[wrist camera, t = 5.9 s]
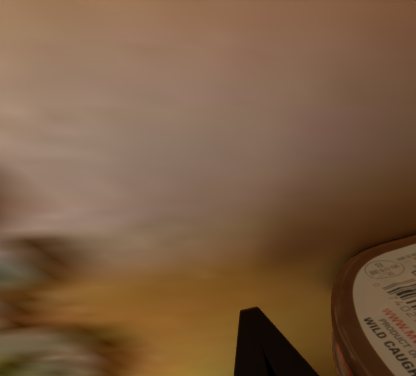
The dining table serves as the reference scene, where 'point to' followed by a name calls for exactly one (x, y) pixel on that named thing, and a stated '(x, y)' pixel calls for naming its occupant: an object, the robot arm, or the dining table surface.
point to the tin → (376, 312)
